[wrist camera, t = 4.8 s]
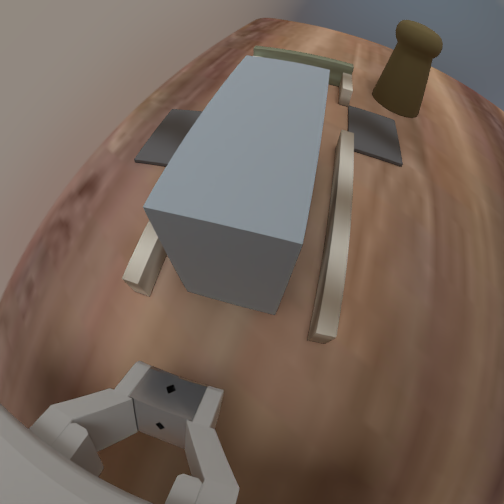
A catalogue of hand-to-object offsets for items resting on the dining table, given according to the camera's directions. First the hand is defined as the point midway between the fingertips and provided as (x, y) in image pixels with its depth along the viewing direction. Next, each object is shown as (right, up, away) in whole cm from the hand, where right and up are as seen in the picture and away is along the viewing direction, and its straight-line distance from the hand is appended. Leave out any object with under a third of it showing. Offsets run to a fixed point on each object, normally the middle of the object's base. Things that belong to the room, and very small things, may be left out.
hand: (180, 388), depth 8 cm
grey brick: (+3, +7, +10) cm, 12 cm away
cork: (+19, +22, +18) cm, 34 cm away
